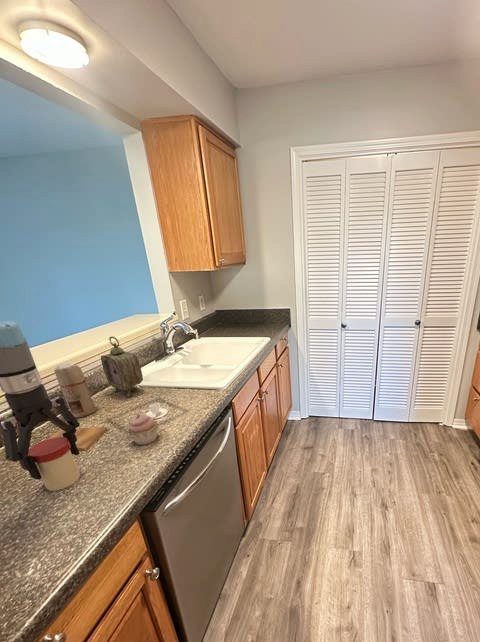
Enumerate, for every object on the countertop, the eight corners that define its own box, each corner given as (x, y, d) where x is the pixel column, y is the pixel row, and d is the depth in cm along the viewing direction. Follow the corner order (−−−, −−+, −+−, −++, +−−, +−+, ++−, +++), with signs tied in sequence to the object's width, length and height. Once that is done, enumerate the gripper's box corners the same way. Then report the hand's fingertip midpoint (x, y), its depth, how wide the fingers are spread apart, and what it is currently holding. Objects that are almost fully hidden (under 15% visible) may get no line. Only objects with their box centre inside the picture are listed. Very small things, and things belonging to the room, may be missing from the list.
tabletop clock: (110, 392, 141) (93, 337, 131) (130, 385, 148) (115, 331, 138) (127, 400, 133) (111, 341, 123) (148, 391, 140) (133, 335, 130)
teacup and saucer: (150, 423, 114) (147, 413, 113) (138, 417, 119) (136, 407, 117) (172, 413, 121) (170, 403, 119) (160, 407, 125) (158, 398, 124)
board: (36, 452, 101) (34, 449, 101) (62, 431, 112) (61, 428, 112) (85, 450, 100) (84, 447, 100) (107, 430, 111) (106, 427, 111)
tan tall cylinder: (65, 417, 122) (46, 367, 114) (84, 407, 129) (67, 360, 121) (82, 420, 119) (64, 369, 111) (101, 409, 126) (85, 361, 118)
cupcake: (125, 441, 104) (117, 414, 100) (153, 429, 110) (146, 403, 106) (138, 452, 98) (129, 424, 94) (167, 438, 105) (160, 411, 101)
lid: (55, 462, 80) (52, 455, 79) (21, 463, 80) (18, 456, 79) (78, 442, 87) (75, 436, 87) (47, 443, 88) (45, 437, 87)
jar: (38, 491, 84) (22, 458, 80) (59, 472, 91) (46, 440, 87) (67, 491, 84) (53, 457, 80) (86, 471, 91) (74, 439, 87)
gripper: (-22, 412, 66) (21, 497, 75) (78, 372, 85) (103, 443, 94) (-45, 407, 68) (0, 490, 77) (58, 370, 87) (84, 440, 96)
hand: (56, 465), depth 85 cm, fingers open, 10 cm apart
